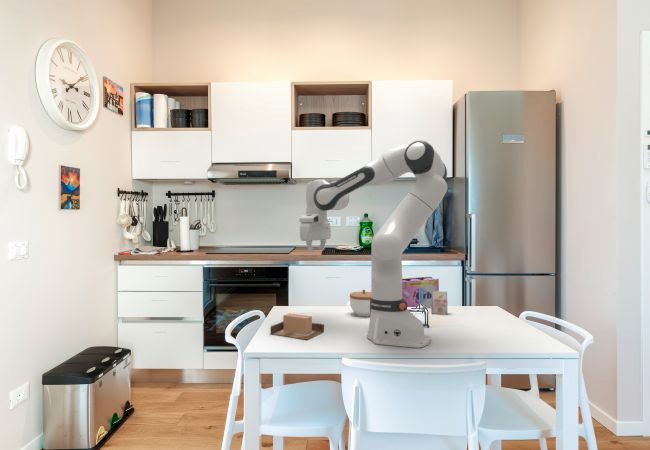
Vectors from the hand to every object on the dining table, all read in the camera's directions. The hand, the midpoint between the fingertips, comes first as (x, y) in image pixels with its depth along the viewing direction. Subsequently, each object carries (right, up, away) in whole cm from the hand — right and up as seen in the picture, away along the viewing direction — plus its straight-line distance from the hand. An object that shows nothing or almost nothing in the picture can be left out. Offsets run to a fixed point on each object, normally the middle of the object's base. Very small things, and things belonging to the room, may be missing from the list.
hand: (316, 250), depth 173 cm
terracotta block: (-7, -29, -20) cm, 36 cm away
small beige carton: (+55, -29, +11) cm, 63 cm away
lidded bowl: (+21, -29, +10) cm, 37 cm away
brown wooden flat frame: (-7, -30, -20) cm, 36 cm away
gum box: (+47, -29, +25) cm, 61 cm away
